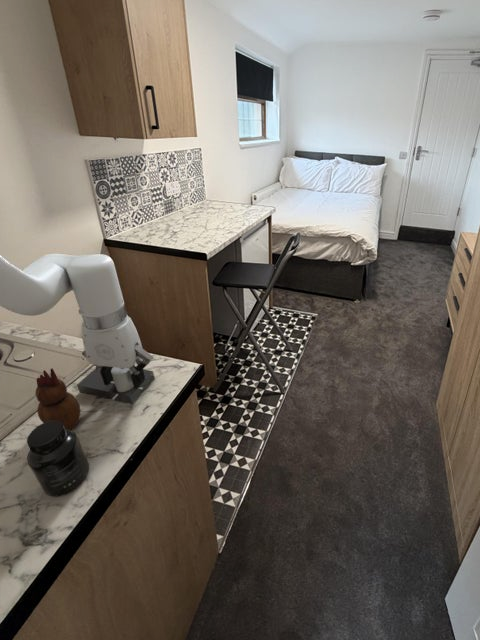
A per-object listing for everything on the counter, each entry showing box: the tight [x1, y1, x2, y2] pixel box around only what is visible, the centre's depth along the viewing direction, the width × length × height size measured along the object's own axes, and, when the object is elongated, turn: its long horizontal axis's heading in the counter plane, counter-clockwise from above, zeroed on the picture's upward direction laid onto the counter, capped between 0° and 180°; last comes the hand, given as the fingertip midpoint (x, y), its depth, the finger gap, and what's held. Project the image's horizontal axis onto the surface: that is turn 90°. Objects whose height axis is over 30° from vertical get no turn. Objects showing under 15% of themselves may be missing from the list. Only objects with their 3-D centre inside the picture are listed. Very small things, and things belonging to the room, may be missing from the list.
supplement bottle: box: [26, 420, 90, 498], centre depth 54 cm, size 7×7×12 cm
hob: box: [76, 367, 156, 405], centre depth 75 cm, size 15×10×3 cm, turn 77°
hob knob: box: [111, 367, 134, 392], centre depth 72 cm, size 4×4×5 cm
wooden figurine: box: [35, 368, 81, 430], centre depth 63 cm, size 7×6×15 cm
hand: (125, 381), depth 73 cm, fingers open, 6 cm apart
